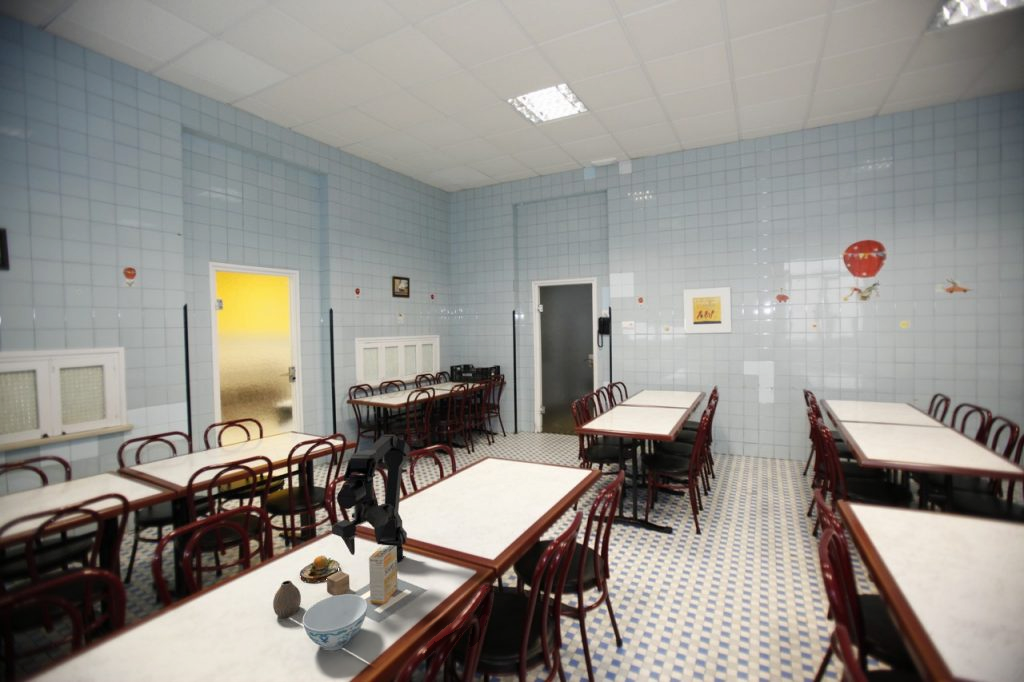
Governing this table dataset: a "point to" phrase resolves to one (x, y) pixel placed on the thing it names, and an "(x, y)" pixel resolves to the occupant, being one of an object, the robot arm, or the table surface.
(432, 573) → the table surface
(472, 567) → the table surface
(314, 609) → the chinaware
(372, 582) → the supplement box
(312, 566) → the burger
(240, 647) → the table surface
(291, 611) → the vase
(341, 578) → the walnut block
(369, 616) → the letter board
